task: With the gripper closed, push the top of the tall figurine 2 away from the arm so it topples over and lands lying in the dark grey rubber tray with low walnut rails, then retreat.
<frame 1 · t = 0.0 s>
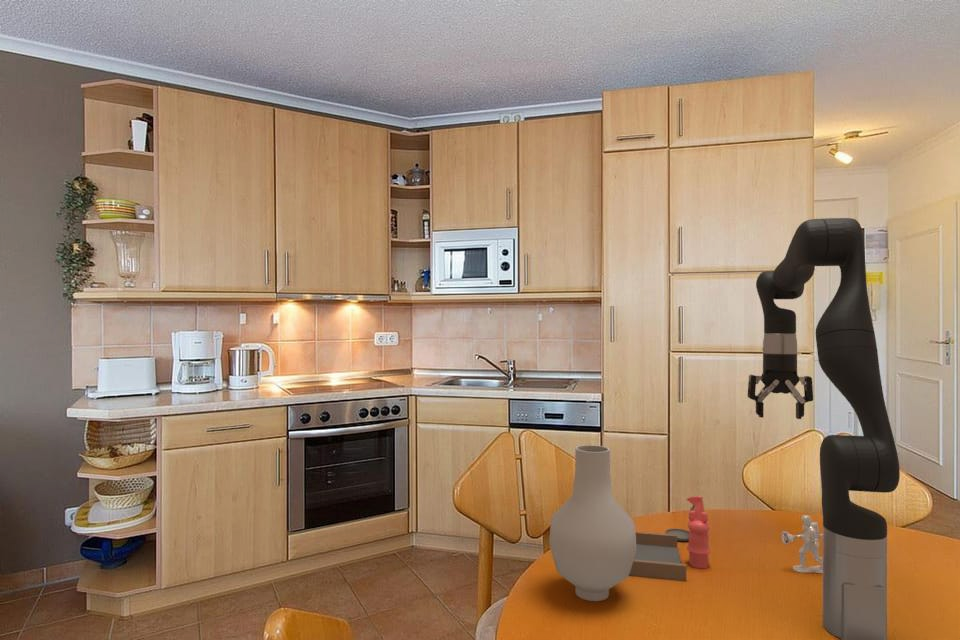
hand: (779, 417, 143), 29 cm above the table, fingers open, 8 cm apart
pocket watch: (684, 538, 142), on the table
figurine: (806, 571, 124), on the table
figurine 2: (698, 565, 127), on the table
vase: (592, 594, 113), on the table
tray: (640, 559, 129), on the table
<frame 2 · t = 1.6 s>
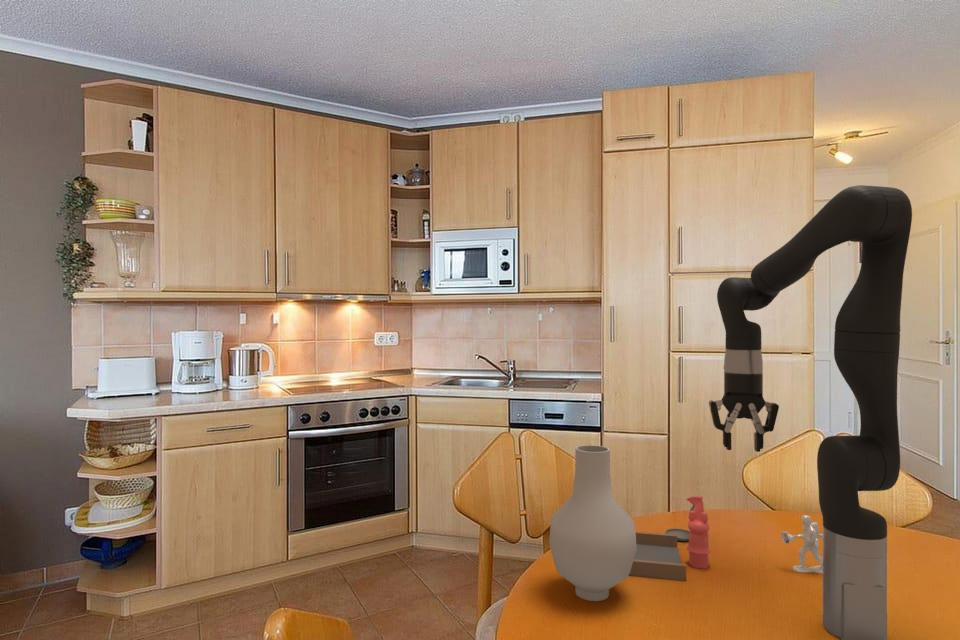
hand: (743, 449, 125), 25 cm above the table, fingers open, 5 cm apart
nothing on the table moved.
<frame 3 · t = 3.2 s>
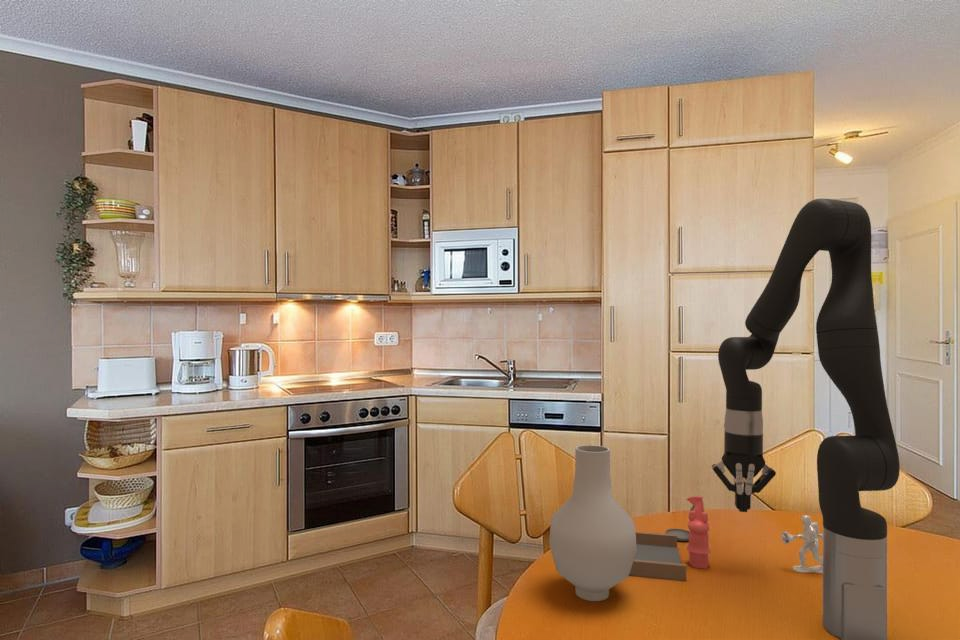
hand: (742, 510, 125), 12 cm above the table, fingers closed
nothing on the table moved.
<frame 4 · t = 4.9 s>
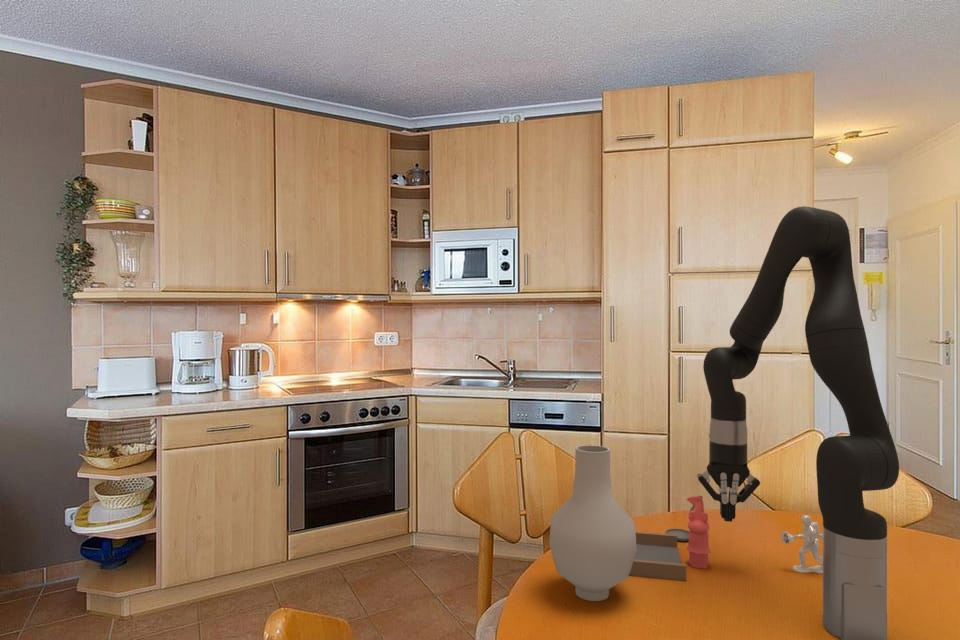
hand: (727, 520, 125), 10 cm above the table, fingers closed
nothing on the table moved.
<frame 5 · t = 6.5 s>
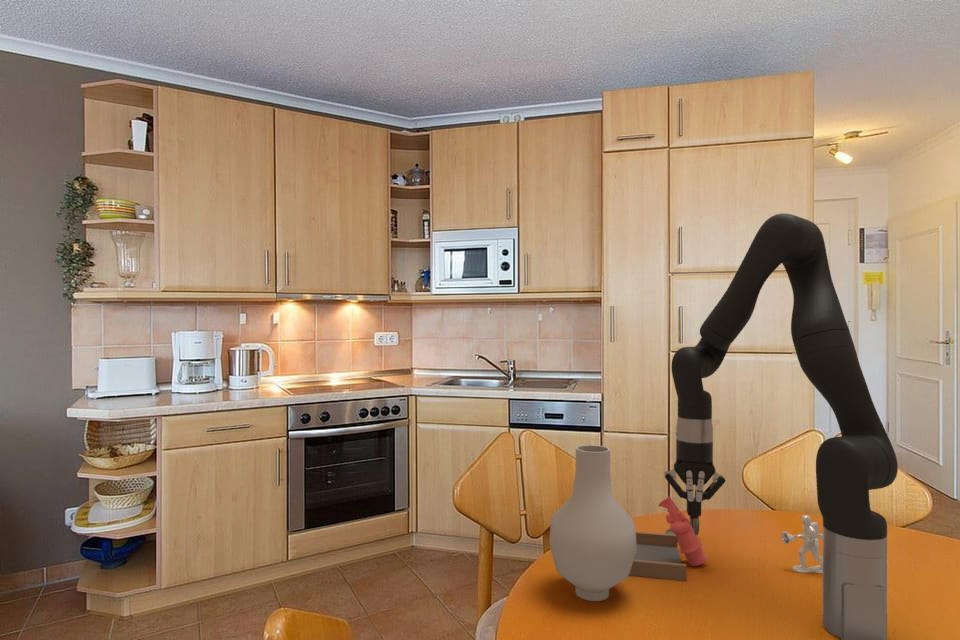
hand: (694, 517, 127), 10 cm above the table, fingers closed
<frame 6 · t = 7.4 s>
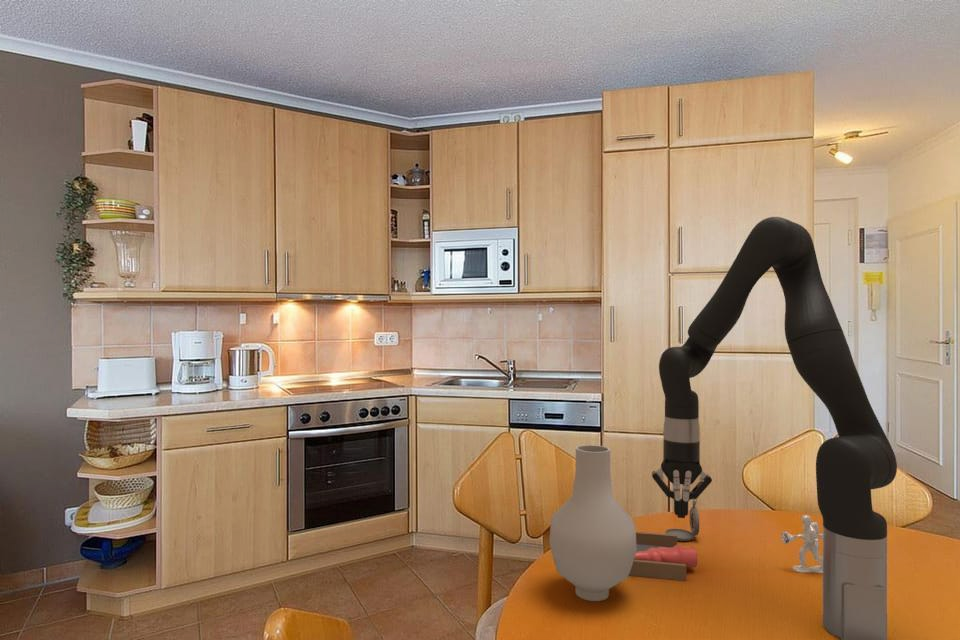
hand: (681, 516, 128), 10 cm above the table, fingers closed
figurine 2: (694, 557, 124), point 3 cm above the table, touching tray
everything else where it was.
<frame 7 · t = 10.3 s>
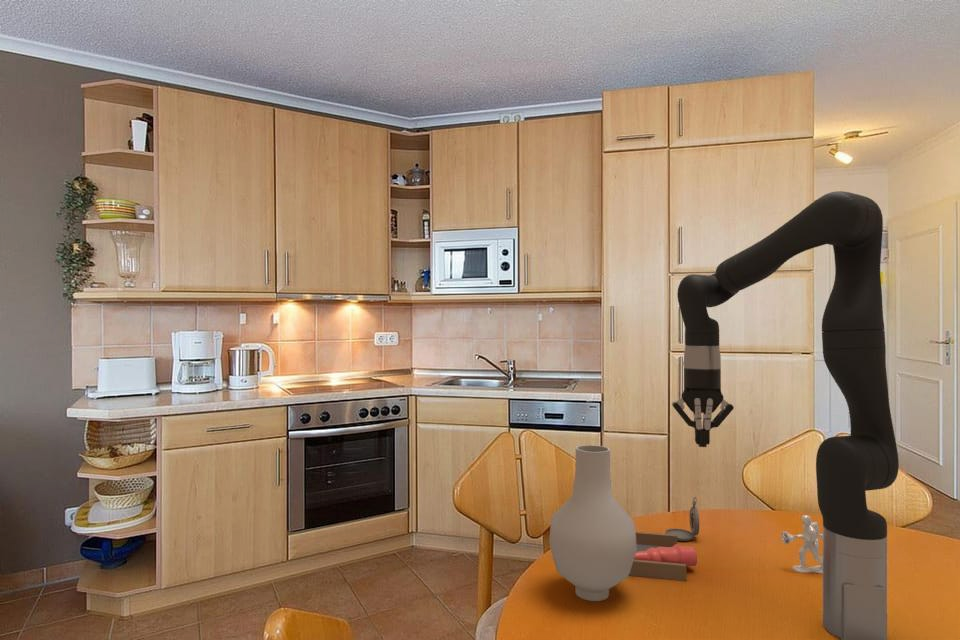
hand: (702, 446, 127), 26 cm above the table, fingers closed
nothing on the table moved.
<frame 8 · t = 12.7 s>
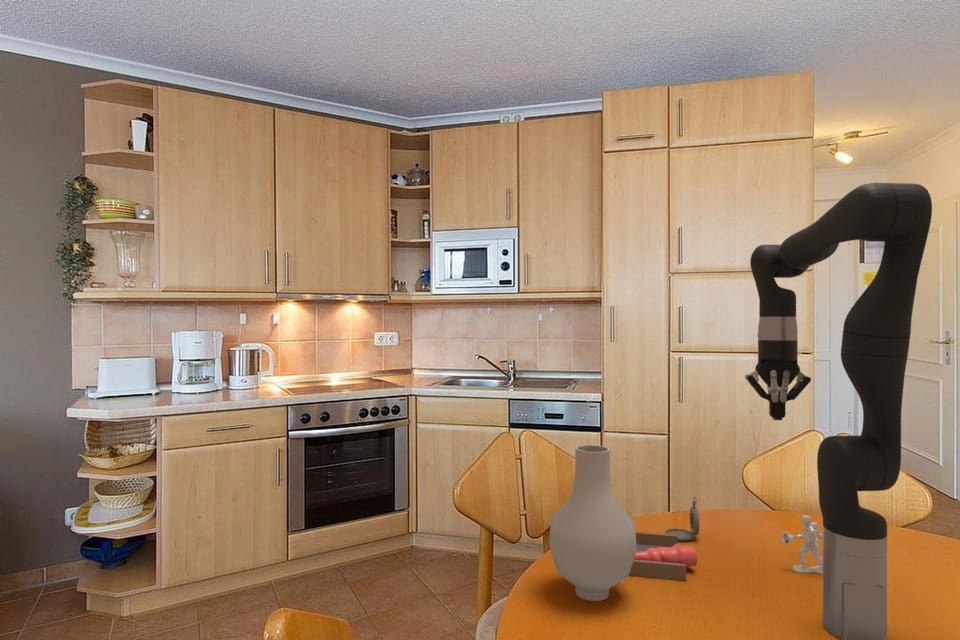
hand: (777, 419, 124), 32 cm above the table, fingers closed
nothing on the table moved.
at the end: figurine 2 tilted 90°; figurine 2 inside the target area (7.3 cm from its centre), point 2.7 cm above the table; the gripper is holding nothing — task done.
